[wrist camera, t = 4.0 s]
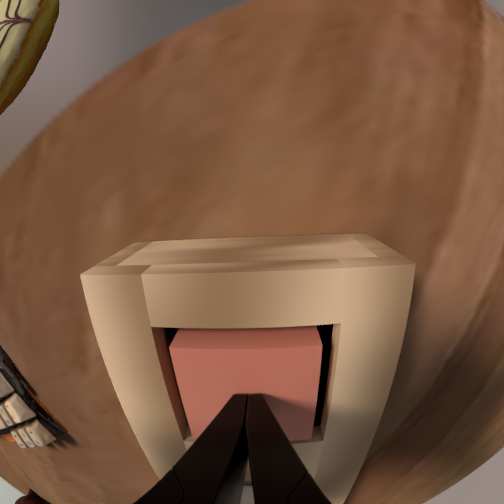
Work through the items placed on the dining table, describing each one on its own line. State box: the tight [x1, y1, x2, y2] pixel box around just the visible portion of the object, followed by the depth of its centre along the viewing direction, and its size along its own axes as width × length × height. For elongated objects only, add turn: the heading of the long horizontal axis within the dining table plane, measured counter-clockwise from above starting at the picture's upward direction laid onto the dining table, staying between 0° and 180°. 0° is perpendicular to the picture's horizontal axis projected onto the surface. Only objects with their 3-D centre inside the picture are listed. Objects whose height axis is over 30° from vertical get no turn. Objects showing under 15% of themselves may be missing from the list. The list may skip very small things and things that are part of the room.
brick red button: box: [169, 325, 323, 441], centre depth 9 cm, size 4×4×4 cm
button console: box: [80, 233, 416, 504], centre depth 12 cm, size 9×24×4 cm, turn 3°
